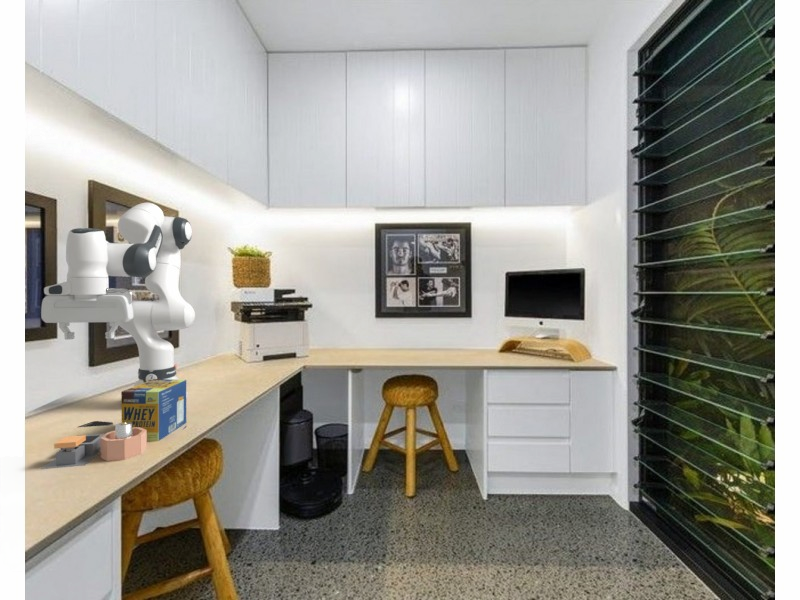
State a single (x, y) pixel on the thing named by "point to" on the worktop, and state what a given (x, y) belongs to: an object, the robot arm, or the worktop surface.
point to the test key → (70, 442)
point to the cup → (123, 445)
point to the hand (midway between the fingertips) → (90, 338)
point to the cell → (123, 430)
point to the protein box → (155, 407)
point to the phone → (97, 424)
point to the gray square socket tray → (78, 453)
